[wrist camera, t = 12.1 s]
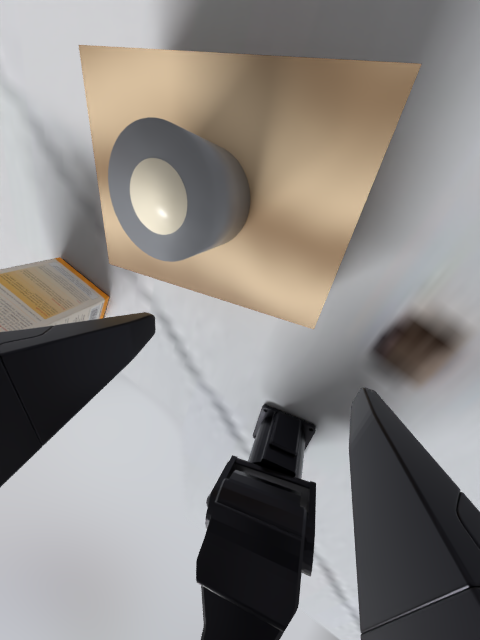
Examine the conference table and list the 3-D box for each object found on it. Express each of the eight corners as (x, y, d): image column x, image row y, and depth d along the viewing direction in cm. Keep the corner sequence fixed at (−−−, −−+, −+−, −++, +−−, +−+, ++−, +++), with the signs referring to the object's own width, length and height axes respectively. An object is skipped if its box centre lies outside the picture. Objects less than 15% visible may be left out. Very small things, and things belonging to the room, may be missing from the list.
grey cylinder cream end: (242, 254, 14) (208, 274, 10) (170, 235, 15) (115, 247, 11) (259, 151, 11) (220, 125, 7) (170, 138, 12) (97, 109, 8)
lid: (314, 323, 15) (313, 329, 14) (117, 261, 19) (109, 263, 18) (414, 74, 9) (421, 63, 8) (92, 53, 12) (78, 45, 12)
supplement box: (57, 283, 31) (-94, 326, 20) (61, 255, 28) (-112, 288, 17) (104, 321, 31) (-21, 385, 20) (111, 297, 28) (-27, 356, 17)
